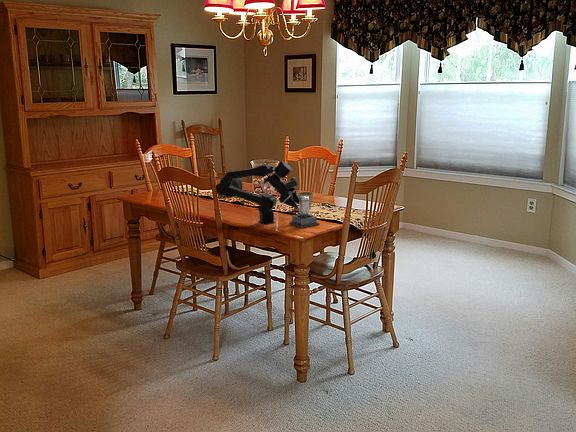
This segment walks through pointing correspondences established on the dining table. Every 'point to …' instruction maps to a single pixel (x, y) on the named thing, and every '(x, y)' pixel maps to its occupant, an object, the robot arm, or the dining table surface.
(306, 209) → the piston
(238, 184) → the squash
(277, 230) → the dining table surface
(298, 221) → the grey square tray
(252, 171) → the robot arm
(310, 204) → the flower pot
